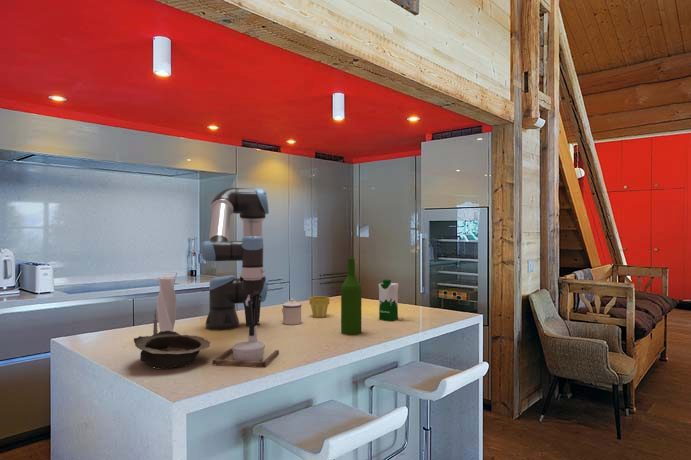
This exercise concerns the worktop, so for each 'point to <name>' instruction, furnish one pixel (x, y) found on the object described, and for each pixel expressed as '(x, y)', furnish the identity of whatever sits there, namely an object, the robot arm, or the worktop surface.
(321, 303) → the plant pot
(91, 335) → the worktop surface
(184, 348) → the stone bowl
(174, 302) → the skyscraper
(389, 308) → the milk carton
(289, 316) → the teacup with lid
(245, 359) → the ramekin
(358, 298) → the wine bottle
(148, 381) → the worktop surface
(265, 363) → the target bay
